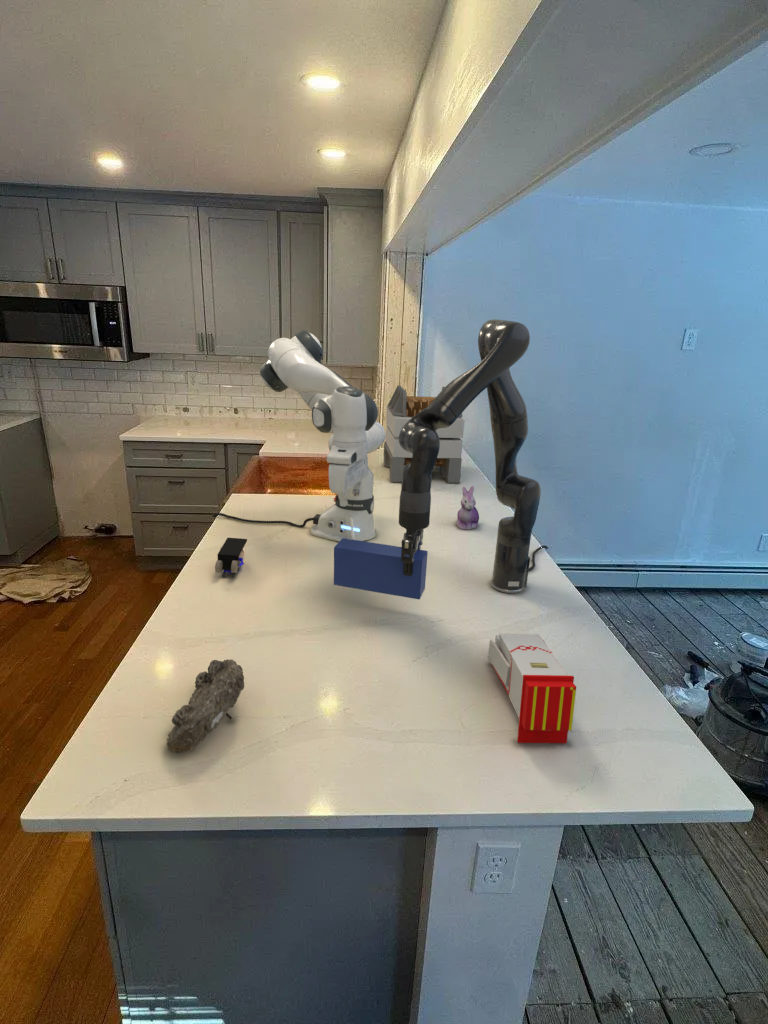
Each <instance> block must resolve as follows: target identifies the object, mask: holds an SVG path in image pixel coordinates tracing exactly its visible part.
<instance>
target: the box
mask: <svg viewBox="0 0 768 1024" xmlns="http://www.w3.org/2000/svg"><path fill="white" fill-rule="evenodd" d="M401 550H402V546H398V545H391V544H384V543H379V542H378V543H377V542H372V541H366V540H365V541H358V540H351V539H344V538H342V539H341V540H340V541H337V543H336V544H335V545H334V546H333V586H338V587H343V588H349V589H355V590H356V589H357V590H362V591H367V592H372V593H379V594H384V595H390V596H391V595H392V596H397V597H403V598H409V599H413V600H421V598H422V596H423V594H424V592H425V589H426V579H427V564H428V553H429V551H428V550H424V549H420V550H418V549H417V553H415V554H414V561H413V574H412V575H411V576H407V575H404V574H403V568H404V562H401ZM406 557H409V555H408V554H407V555H406Z"/></svg>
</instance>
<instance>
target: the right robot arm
mask: <svg viewBox="0 0 768 1024" xmlns="http://www.w3.org/2000/svg"><path fill="white" fill-rule="evenodd" d="M478 332H479V333H478V336H477V337H478V338H477V346H478V353H479V357H480V362H478V363H477V364H476V365H474V366H473V367H471V368H469V370H467V371H465V372H463V373H462V374H460V375H459V376H457V377H455V378H454V379H453V380H452V381H450V382H449V383H448V384H446V386H444V387H445V388H444V389H443V390H442V389H441V391H440V392H439V393H438V394H437V396H435V397H436V398H435V399H434V400H433V401H432V403H431V404H430V405H429V406H428V407H426V408H425V409H423V410H422V411H420V412H419V413H418V414H417V415H415V416H414V417H413V418H411V419H410V420H409V421H408V422H407V423H406V424H405V425H404V426H403V428H402V429H401V431H400V434H399V444H400V446H401V447H402V448H403V449H404V450H406V451H408V452H410V453H412V454H413V456H412V461H411V463H409V464H407V465H404V468H403V471H402V482H401V489H400V495H399V504H398V525H399V526H400V527H401V528H404V529H405V530H406V531H405V532H404V533H403V537H402V539H401V547H402V550H401V562H404V568H403V574H404V575H407V576H411V575H412V574H413V561H414V554H415V553H417V549H418V550H422V546H423V540H424V539H423V538H424V529H425V530H426V529H427V528H428V527H429V526H430V521H431V520H430V518H431V505H432V504H431V503H432V495H431V494H432V493H431V491H432V489H431V488H432V473H433V472H434V471H433V470H434V468H435V467H436V466H435V463H436V459H437V456H438V453H439V448H440V441H439V436H438V434H437V432H436V430H437V429H439V428H447V427H449V426H451V425H452V424H453V423H454V422H455V421H456V419H457V418H458V417H459V416H460V415H461V414H462V415H463V413H464V411H466V409H467V408H468V407H469V406H470V404H472V402H473V401H474V400H475V399H476V398H477V397H479V396H480V394H482V392H483V391H485V390H486V392H487V399H488V405H489V407H488V408H489V417H490V426H491V434H492V439H493V449H494V462H495V463H494V464H495V493H496V498H497V500H498V502H499V503H500V504H502V505H504V506H506V507H508V508H511V509H514V513H513V516H506V517H503V518H501V519H500V520H499V522H498V526H497V535H496V544H495V550H494V551H495V552H494V560H493V570H492V577H491V583H490V585H491V587H492V588H493V589H494V590H496V591H498V592H501V593H505V594H518V593H521V592H523V591H524V590H525V588H527V584H528V578H529V577H528V576H529V572H530V571H532V570H533V569H534V568H535V567H536V562H535V561H536V560H535V558H536V557H535V555H536V553H538V552H539V551H540V550H541V549H546V550H548V549H549V546H547V545H542V546H541V545H540V546H539V547H537V548H536V549H535V550H534V551H532V555H531V557H530V556H529V554H530V547H531V546H530V545H531V540H532V534H533V533H532V532H533V529H534V526H535V523H536V521H537V516H538V511H539V505H540V500H541V495H542V492H541V485H540V483H539V482H538V481H537V480H536V479H533V478H531V477H527V476H524V475H521V474H519V472H518V469H517V468H518V467H517V457H518V454H519V452H520V450H521V448H522V447H523V445H524V443H525V441H526V440H527V437H528V434H529V420H528V411H527V406H526V403H525V401H524V398H523V396H522V394H521V392H520V390H519V389H518V387H517V385H516V383H515V381H514V379H513V376H512V374H511V371H510V370H511V369H510V368H511V367H512V366H514V365H515V364H516V363H517V362H519V360H521V358H522V357H524V356H525V354H526V352H527V351H528V349H529V345H530V343H531V336H530V331H529V329H528V327H527V326H526V325H525V324H523V323H521V322H519V321H514V320H505V319H488V320H487V321H485V322H484V323H483V324H482V325H481V327H480V329H479V331H478ZM541 547H542V548H541ZM407 554H408V555H409V557H406V555H407ZM530 563H532V565H531V564H530ZM530 565H531V566H530Z"/></svg>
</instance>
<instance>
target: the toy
mask: <svg viewBox="0 0 768 1024" xmlns="http://www.w3.org/2000/svg"><path fill="white" fill-rule="evenodd" d="M487 659H488V661H489V662H490V663H491V666H492V668H493V670H494V671H495V673H496V676H497V678H498V679H499V681H500V682H501V685H502V686H503V689H504V690H505V692H506V694H507V695H508V698H509V700H510V702H511V705H512V706H513V708H514V711H515V713H516V715H517V717H518V728H517V741H516V742H517V743H518V744H567V743H568V734H569V732H570V731H573V720H574V711H575V704H576V696H577V695H576V694H577V686H576V685H575V683H574V681H575V676H574V675H569V674H568V673H567V671H566V670H565V669H564V667H563V666H562V664H560V662H559V661H558V659H557V657H556V656H555V655H554V653H553V651H552V650H551V649H550V648H549V646H548V644H547V643H546V641H545V639H543V638H542V636H541V635H540V633H503V632H501V633H499V634H496V635H495V639H494V640H493V639H489V644H488V652H487Z"/></svg>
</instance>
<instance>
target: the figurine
mask: <svg viewBox="0 0 768 1024" xmlns="http://www.w3.org/2000/svg"><path fill="white" fill-rule="evenodd" d="M474 490H475V486H474V485H471V487H469V490H467V488H466V487H465V486H462V487H461V491H462V497H461V500H460V505H461V508H460V509H458V510H457V515H456V516H457V519H456V526H458V528H459V529H461V530H473V529H475V528H477V527H478V525H479V521H480V514H479V511H478V509H477V507H476V504H477V502H476V499H475V496H474V492H475V491H474Z"/></svg>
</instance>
